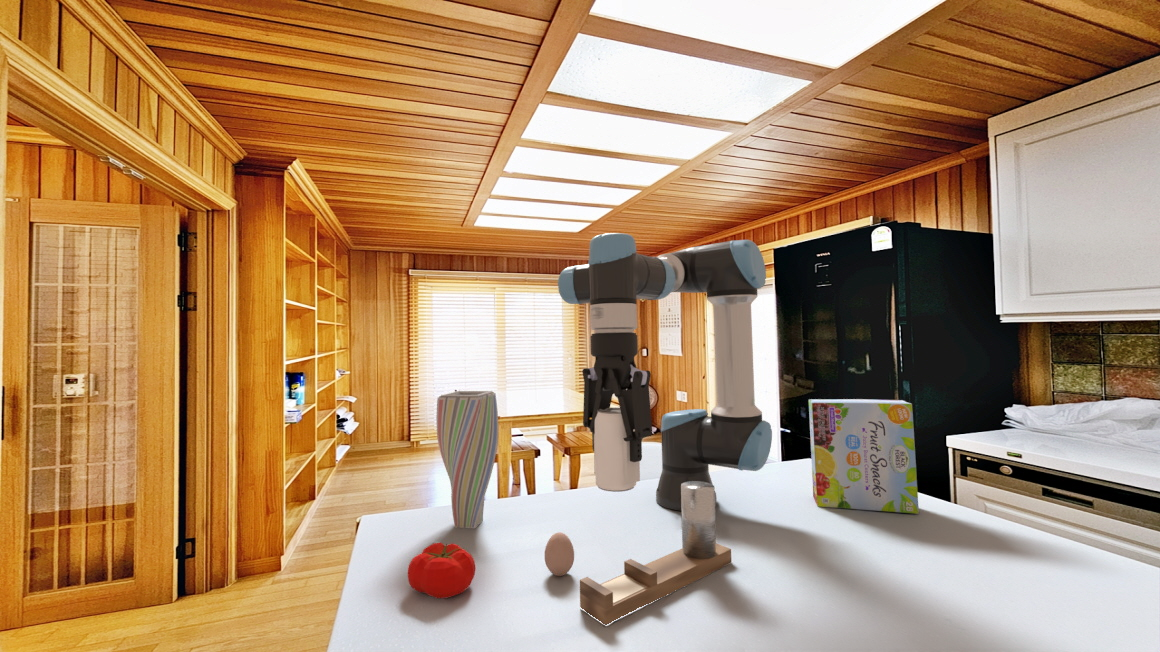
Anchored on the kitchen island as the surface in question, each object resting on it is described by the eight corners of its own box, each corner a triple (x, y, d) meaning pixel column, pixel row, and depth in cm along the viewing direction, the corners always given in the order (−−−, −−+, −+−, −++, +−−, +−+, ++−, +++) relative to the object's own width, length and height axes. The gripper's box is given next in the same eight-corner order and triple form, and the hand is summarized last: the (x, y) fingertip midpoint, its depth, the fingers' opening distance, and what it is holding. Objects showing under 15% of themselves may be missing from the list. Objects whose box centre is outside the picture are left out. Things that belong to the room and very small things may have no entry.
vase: (506, 514, 115) (504, 389, 116) (485, 537, 102) (484, 396, 103) (454, 511, 118) (452, 389, 119) (427, 533, 104) (426, 396, 105)
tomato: (442, 612, 74) (442, 569, 74) (397, 593, 80) (397, 554, 80) (486, 584, 82) (486, 546, 82) (442, 569, 88) (442, 533, 88)
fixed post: (675, 551, 88) (674, 485, 88) (696, 542, 92) (694, 479, 92) (702, 562, 83) (700, 493, 84) (723, 552, 87) (721, 486, 87)
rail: (580, 609, 74) (579, 579, 74) (704, 551, 93) (704, 528, 93) (605, 627, 69) (605, 595, 69) (731, 562, 88) (730, 538, 89)
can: (634, 493, 72) (633, 413, 72) (592, 491, 73) (591, 412, 73) (638, 480, 78) (636, 407, 78) (599, 479, 79) (597, 406, 80)
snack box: (908, 503, 118) (904, 399, 118) (920, 516, 109) (915, 403, 110) (811, 496, 125) (807, 397, 125) (815, 507, 116) (812, 401, 117)
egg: (576, 580, 83) (576, 537, 83) (546, 583, 82) (545, 540, 82) (572, 566, 88) (571, 526, 88) (543, 569, 87) (542, 528, 87)
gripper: (559, 333, 82) (561, 469, 81) (640, 329, 66) (643, 497, 66) (593, 333, 86) (595, 461, 85) (675, 330, 71) (679, 486, 70)
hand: (616, 477), depth 76 cm, fingers closed on can, 6 cm apart
